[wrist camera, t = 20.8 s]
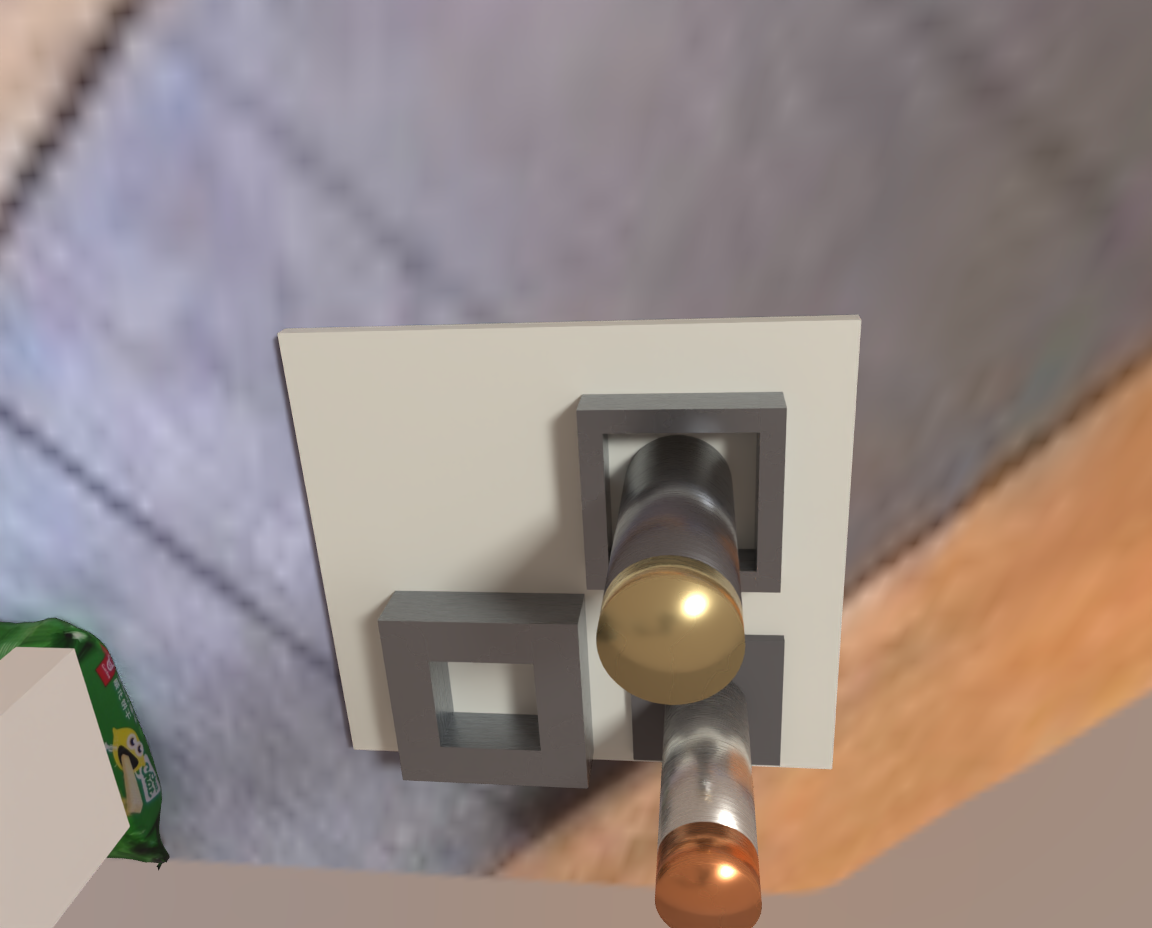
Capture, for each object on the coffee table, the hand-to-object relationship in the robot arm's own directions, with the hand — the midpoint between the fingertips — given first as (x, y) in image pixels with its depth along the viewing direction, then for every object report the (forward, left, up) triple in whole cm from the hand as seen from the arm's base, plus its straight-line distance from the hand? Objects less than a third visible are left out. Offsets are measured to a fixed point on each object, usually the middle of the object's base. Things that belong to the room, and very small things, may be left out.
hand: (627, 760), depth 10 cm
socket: (0, -9, -28) cm, 29 cm away
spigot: (0, -9, -28) cm, 29 cm away
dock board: (-5, -13, -29) cm, 32 cm away
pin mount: (-9, -19, -28) cm, 35 cm away
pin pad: (+1, -20, -28) cm, 34 cm away
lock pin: (+1, -20, -27) cm, 34 cm away
